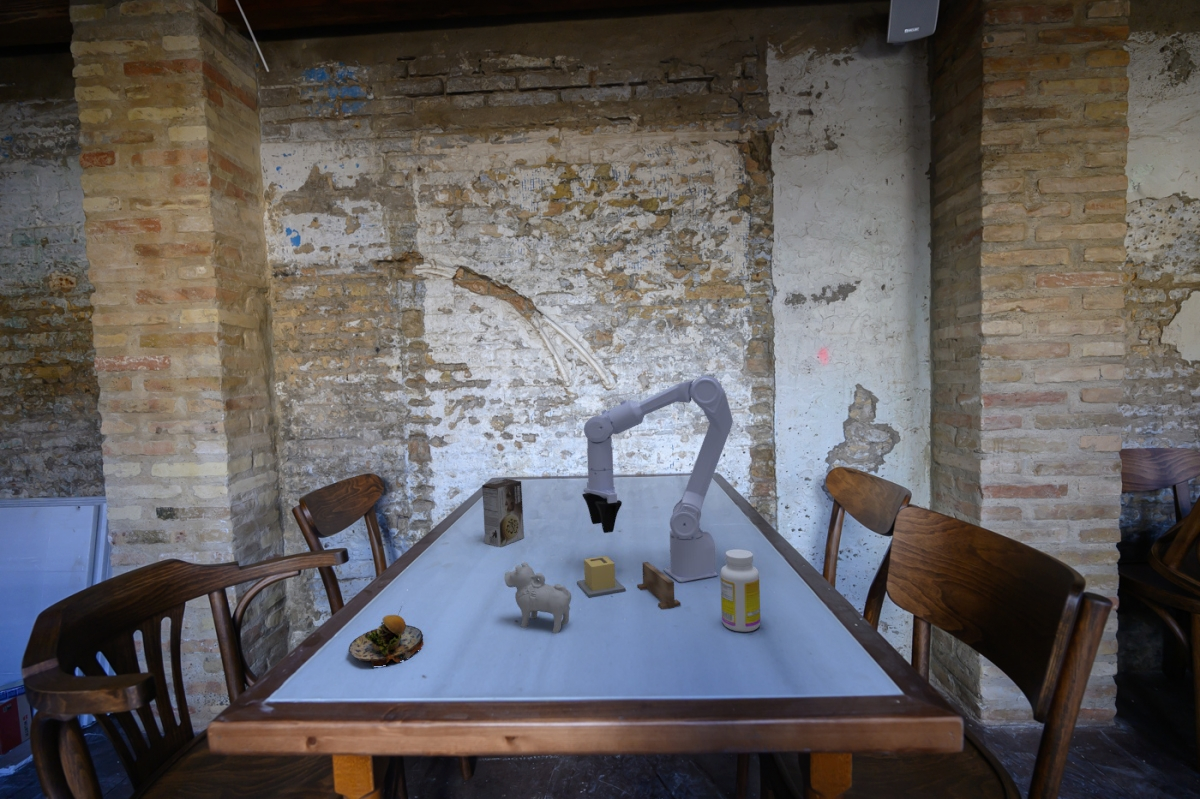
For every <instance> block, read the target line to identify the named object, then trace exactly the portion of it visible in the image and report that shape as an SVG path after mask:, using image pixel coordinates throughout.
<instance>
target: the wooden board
mask: <svg viewBox="0 0 1200 799" xmlns="http://www.w3.org/2000/svg"><path fill="white" fill-rule="evenodd" d="M636 587H637V589H638V590H640V591H644V590H647V591H649V593H650V594H652V595H653V596H654V597H655V598H656V599H657V600H659V601H660V602H658V603H657V606H658V607H659V608H660V609H661V610H665V609H672V608H676V607H679V606H680V607H681V606H682V604H681V603H682V602H681V601H680V600H678V599H675V582H674V580H672V579H671V578H670V577H668V576H667V575H666V574H664V573H663V572H662V571H660V570H659V569H658V568H656V567H655V566H654V565H652V564H651V563H650V562H649V561H646V562H642V583H637V586H636Z"/></svg>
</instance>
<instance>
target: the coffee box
mask: <svg viewBox="0 0 1200 799" xmlns="http://www.w3.org/2000/svg"><path fill="white" fill-rule="evenodd" d="M481 488H482V505H483V508H482V509H483V523H484V524H483V526H484V528H483V529H484V544H486V545H489V544H490V546H493V545H494V546H493V547H498V548H503V547H505V546H507V545H510V544H513V543H515V542H517V541H519V540H522V539H524V538H525V532H524V527H525V526H524V509H523V493H522V489H523V488H522V481H521V480H517V479H516V480H515V479H508V478H504V479H501V480H500V479H499V480H496V481H492V482H489V483H488V482H487V483H484V484H482V487H481Z"/></svg>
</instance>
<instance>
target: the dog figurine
mask: <svg viewBox="0 0 1200 799" xmlns="http://www.w3.org/2000/svg"><path fill="white" fill-rule="evenodd" d="M514 569H515V570H513V571H507V572H505V573H504V582H505V585H506V587H508V588H516V592H515V597H514V598H515V602H516V605H517V607H518V608H519V609H520V612H521V614H522V615H521V616H522V621H521V624H520V627H521V628H523V629H524V628H527V627H528V626H529V624H530V622H529V619H534V620H535V619H536V618H538V613H539V612H540V613H541V612H542V613H547V614H551V615H552V616H553V629H552V633H553V634H558V633H559V632H560V631H561V626H562V625H565V624H568V623H569V622H570V610H571V607H570V603H571V601H572V595H571V591H569V590H568V589H567V588H566V586H564V585H562V584H560V583H555V584H554V585H551V584H547V583H546V578H545V575H544V574H543V573H540V572H538V573H535V571H534V570H533V568H532V567H531V566H530V565H529V563H527V562H525V561H524V562H521V565H516V566H515V568H514Z"/></svg>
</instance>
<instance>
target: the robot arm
mask: <svg viewBox="0 0 1200 799" xmlns="http://www.w3.org/2000/svg"><path fill="white" fill-rule="evenodd" d="M692 400H693V402H694V403H695V404H696V405H697V406H698V407H699V408H700V409H701V410H702V411H703V413H704V415H705V416H706V418H707V420H708V423H709V424H708V427H707V430H706V433H705V435H704V438H703V441H702V445H701V446H700V449H699V452H698V455H697V457H696V460H695V463H694V465H693V469H692V471H691V474H690V477H689V479H688V482H687V484H686V487H685V490H684V492H683V495H682V497H681V499H680V500H679V501H678V502H677V503H676V504H675V505H674V507H673V509H672V510H673V511H672V515H671V517H670V519H669V527H670V531H669V552H670V554H669V556H670V558H669V559H670V567H669V566H668V567H664V568H663V571H664V572H665V573H666V574H668V575H669V576H670V577H672V578H673V579H674V580H676V581H677V582H679V583H684V582H690V581H695V580H701V579H707V578H711V577H717V576H718V575H719V574H718V572H717V570H716V569H717V566H716V565H717V564H716V543H715V540H714V537H713V535H712V534H711V533H710V532H708V531H703V530H702V529H701V527H700V524H701V523H700V520H701V516H702V508H703V504H704V502H705V499H706V496H707V492H708V490H709V488H710V485H711V483H712V479H713V477H714V474H715V472H716V469H717V466H718V465H719V464H718V463H719V461H720V458H721V455H722V453H723V451H724V447H725V445H726V442H727V439H728V436H729V435H730V431H731V429H732V426H733V422H734V421H733V420H734V419H733V415H732V412H731V409H730V405H729V402H728V398H727V394H726V391H725V389H724V387H723V386H722V385H721V383H720V382H719V380H718V379H717V378H715V377H714V376H711V375H702V376H700V377H698V378H696V379H690V380H686V381H684V382H683V381H682V382H679V383H676V384H674V385H673V386H671V387H669V388H667V389H664V390H661V392H658V393H656V394H654V395H652V396H650V397H648V398H646V399H644V400H642V401H640V402H639V401H635V400H633V399H629V400H627V399H623V400H621V401H619V405H616V406H614V407H612V408H611V409H608V410H607V409H602V410H601V411H600V412H601V414H597V415H593V416H591V418H589V419H587V421H586V422H585V424H584V428H583V433H584V435H585V437H586V439H587V441H586V443H587V448H586V453H587V454H586V456H587V481H588V482H587V481H586V488H583V492H584V493H582V497H583V499H584V500H585V503H586V505H587V509H588V512H589V517H590V521H591V524H593V525H598V524H601V527H602V528H601V529H602V531H603V533H604V534H607V533H608V534H609V533H613V532H614V528H615V524H616V521H617V520H616V519H617V516H618V514H619V511H620V508H622V505H623V504H622V503H623V502H622V501H621V499H618V493H616V489H615V486H614V458H613V457H614V456H613V455H614V454H613V453H614V452H613V446H612V445H613V442H612V439H613V437H612V435H618V434H619V435H620V434H621V433H623V432H625V431H627V430H630V429H633V427H636V426H639V425H641V424H642V423H643V421H644V418H645V416H647V415H648V414H650V413H651V414H652V413H653V412H655V411H658V410H660V409H662V408H665V407H667V406H669V405H672V404H674V403H678V402H679V403H687V404H689V403H691V402H692Z"/></svg>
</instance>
